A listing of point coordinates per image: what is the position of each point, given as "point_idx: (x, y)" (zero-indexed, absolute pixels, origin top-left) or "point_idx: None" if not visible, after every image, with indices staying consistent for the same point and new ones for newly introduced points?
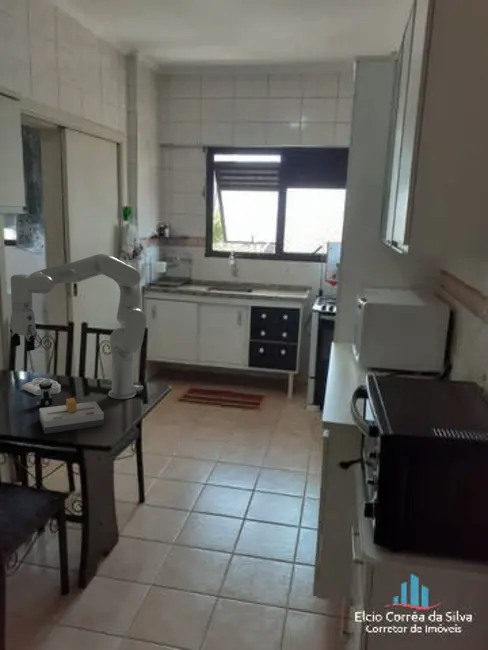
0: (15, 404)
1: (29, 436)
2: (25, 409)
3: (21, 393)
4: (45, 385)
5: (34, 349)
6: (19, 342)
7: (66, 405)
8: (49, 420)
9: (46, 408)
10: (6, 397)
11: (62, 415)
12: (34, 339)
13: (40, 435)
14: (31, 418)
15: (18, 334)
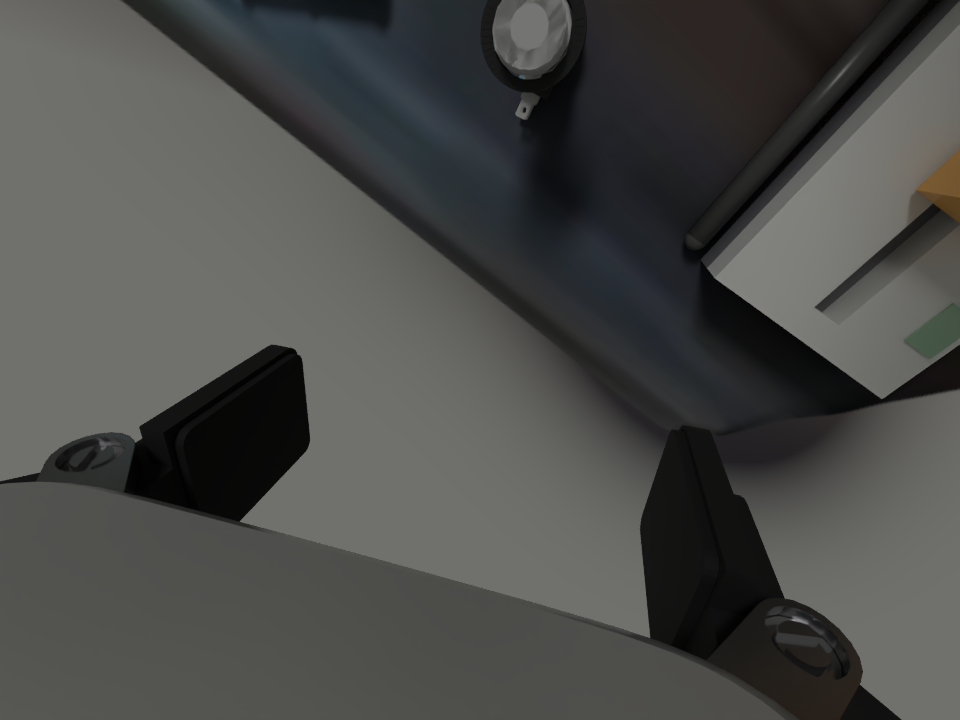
0: (419, 178)
1: (789, 412)
2: (518, 196)
3: (292, 29)
4: (556, 56)
5: (707, 431)
6: (273, 388)
7: (938, 198)
8: (906, 377)
9: (757, 254)
10: (299, 136)
11: (949, 286)
12: (864, 690)
13: (835, 385)
14: (641, 265)
15: (134, 484)
